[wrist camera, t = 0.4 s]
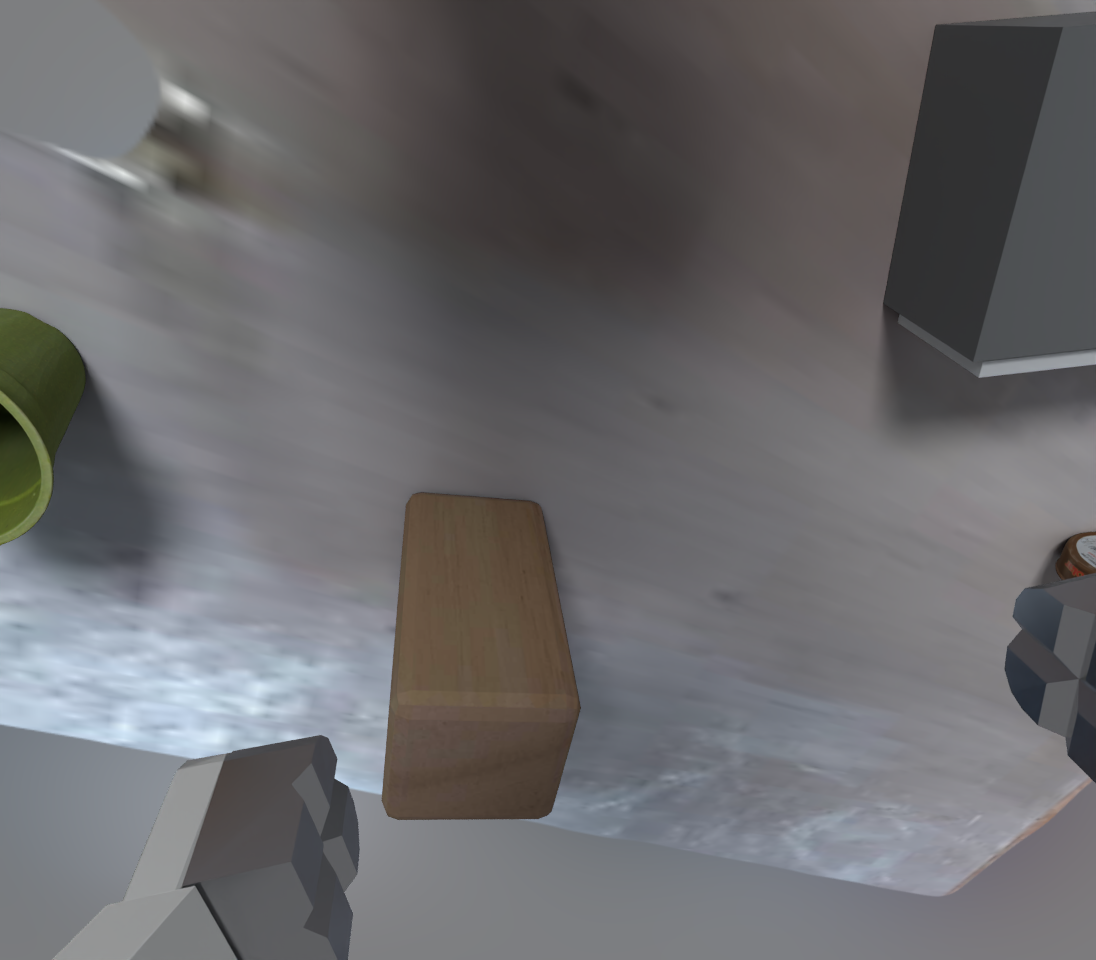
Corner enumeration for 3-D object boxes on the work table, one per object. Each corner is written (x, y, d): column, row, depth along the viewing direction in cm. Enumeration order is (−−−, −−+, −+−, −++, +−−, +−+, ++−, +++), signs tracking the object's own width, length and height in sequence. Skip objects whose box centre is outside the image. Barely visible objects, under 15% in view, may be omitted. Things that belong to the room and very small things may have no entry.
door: (900, 308, 49) (983, 361, 42) (1158, 280, 50) (1284, 327, 43) (896, 331, 50) (976, 387, 43) (1150, 303, 51) (1271, 353, 44)
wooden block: (523, 598, 60) (553, 826, 43) (398, 592, 58) (379, 827, 41) (543, 496, 55) (587, 710, 38) (407, 485, 53) (390, 705, 36)
